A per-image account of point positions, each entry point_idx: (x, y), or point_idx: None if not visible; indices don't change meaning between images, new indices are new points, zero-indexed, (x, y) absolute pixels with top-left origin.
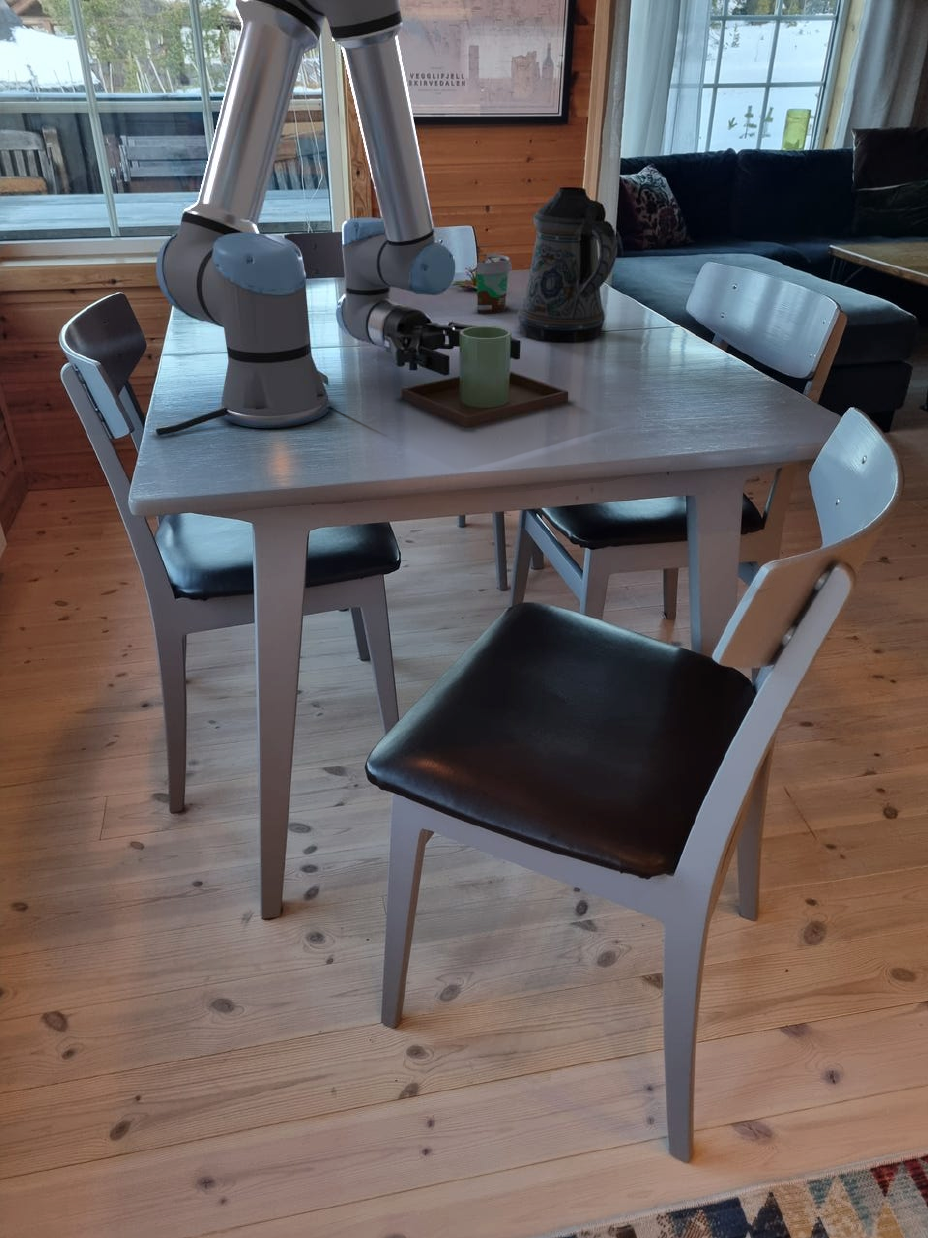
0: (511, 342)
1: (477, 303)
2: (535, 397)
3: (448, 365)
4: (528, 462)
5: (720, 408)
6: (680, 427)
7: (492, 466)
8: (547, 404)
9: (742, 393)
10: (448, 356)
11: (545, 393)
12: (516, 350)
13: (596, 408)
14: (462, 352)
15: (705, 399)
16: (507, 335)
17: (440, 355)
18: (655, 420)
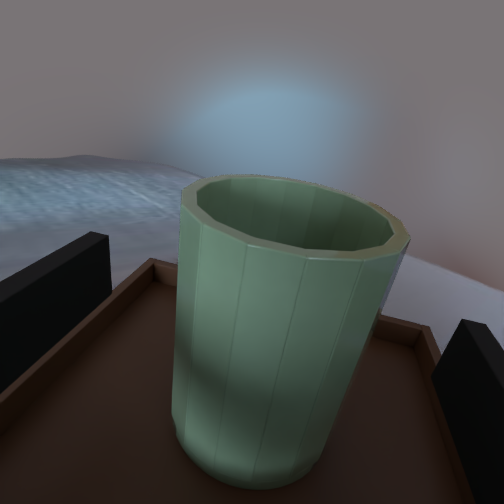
0: (88, 258)
1: None
2: (154, 320)
3: (448, 351)
4: None
5: (89, 185)
6: (180, 200)
7: (449, 276)
8: None
9: (10, 176)
10: (464, 321)
11: (122, 309)
12: (110, 266)
13: (155, 250)
14: (385, 301)
15: (51, 191)
16: (271, 177)
17: (500, 346)
18: (170, 211)
